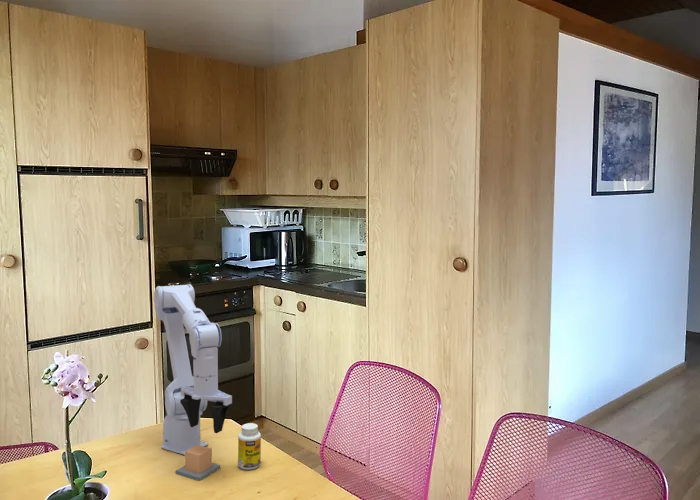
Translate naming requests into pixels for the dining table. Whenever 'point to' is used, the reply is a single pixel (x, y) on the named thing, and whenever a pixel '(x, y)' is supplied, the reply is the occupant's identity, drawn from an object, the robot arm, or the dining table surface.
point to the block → (198, 459)
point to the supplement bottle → (249, 447)
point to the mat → (195, 475)
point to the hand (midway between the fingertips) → (206, 428)
